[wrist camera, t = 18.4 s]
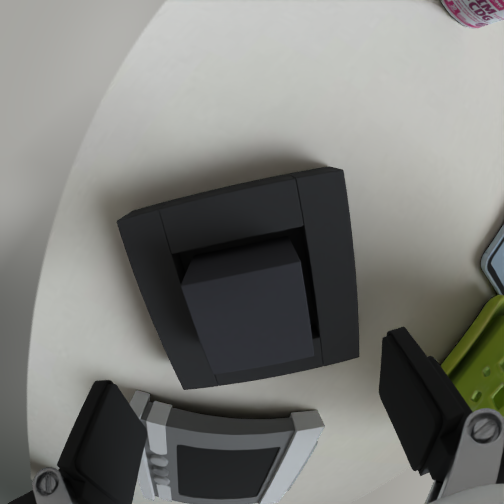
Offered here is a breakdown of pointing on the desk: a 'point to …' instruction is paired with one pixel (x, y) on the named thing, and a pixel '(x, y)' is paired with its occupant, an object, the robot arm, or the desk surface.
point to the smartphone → (495, 262)
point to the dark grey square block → (249, 305)
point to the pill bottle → (475, 11)
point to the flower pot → (481, 359)
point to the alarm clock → (221, 454)
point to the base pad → (240, 233)
